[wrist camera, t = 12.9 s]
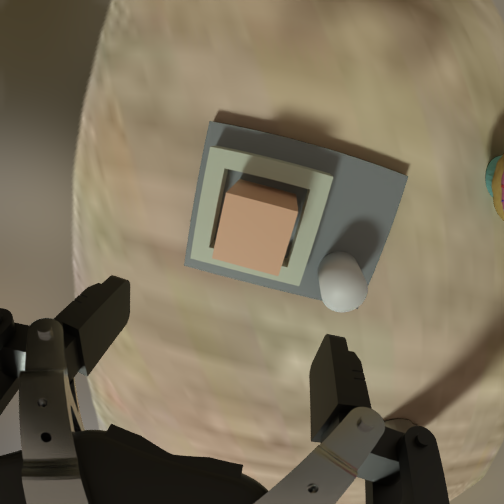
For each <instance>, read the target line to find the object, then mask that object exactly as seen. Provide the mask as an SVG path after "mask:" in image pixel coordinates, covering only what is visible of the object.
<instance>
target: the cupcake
mask: <svg viewBox="0 0 504 504" xmlns="http://www.w3.org/2000/svg"><path fill="white" fill-rule="evenodd" d="M486 186H487V189H488V192H489V193H490V195H491V196H492V197H493V202H494V207H495V209H496V211H497V213H498V215H499V216H500V217H501V219H502V220H503V221H504V154H503V155H501V156H498V157H495V158H494V159H492V160H491V162H490V163H489V165H488V167H487V170H486Z"/></svg>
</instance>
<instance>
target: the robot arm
mask: <svg viewBox="0 0 504 504" xmlns="http://www.w3.org/2000/svg"><path fill="white" fill-rule="evenodd" d="M129 315H130V282H129V281H128V280H126V279H122V278H119V277H116V276H113V275H112V276H110V277H109V278H108V279H107V280H106V281H105V282H103V283H102V284H100V283H97V284H95V285H92V286H90V287H88V288H87V289H85V290H84V291H83V292H82V293H81V294H80V295H79V296H78V297H77V298H76V299H75V300H74V301H72V302H71V303H70V304H69V305H68V306H67V307H66V308H65V309H64V310H63V311H61V312H60V313H59V314H58V315H57V316H56V317H55V318H54V319H51V318H43V319H39V320H36V321H35V322H33V323H32V324H31V325H30V326H28V325H23V324H19V323H14V320H13V316H12V314H11V312H10V311H8V310H6V309H2V308H0V415H1V414H2V412H3V410H4V409H5V408H6V406H7V405H8V403H9V402H10V401H11V399H12V398H13V396H14V395H15V394H16V392H17V391H18V389H19V418H20V419H19V420H20V435H21V446H22V450H20V451H17V452H13V453H9V454H6V455H2V456H0V504H335V503H336V502H337V501H338V499H339V498H340V497H341V496H342V495H343V493H344V492H345V491H346V490H347V488H348V487H349V486H350V485H351V483H352V482H353V481H354V479H355V478H356V477H359V478H362V479H365V490H366V504H449V498H448V493H447V487H446V482H445V477H444V472H443V467H442V463H441V458H440V454H439V450H438V446H437V442H436V439H435V437H434V435H433V434H432V433H431V432H430V431H429V430H428V429H426V428H424V427H421V426H418V425H414V424H412V422H411V421H409V420H406V419H394V420H389V421H385V422H384V420H383V418H382V417H381V416H380V415H379V414H378V413H377V412H376V411H374V410H373V409H371V404H370V399H369V395H368V390H367V385H366V381H365V377H364V373H363V368H362V364H361V361H360V360H359V358H358V357H357V355H356V354H355V353H354V352H351V351H348V347H347V342H346V339H345V338H344V337H339V336H335V335H330V334H326V335H325V337H324V339H323V341H322V343H321V345H320V347H319V349H318V352H317V354H316V356H315V358H314V360H313V362H312V365H311V369H310V375H309V378H310V411H311V441H312V442H321V444H320V445H318V446H317V447H316V448H315V449H314V450H313V451H312V452H311V453H310V454H309V455H308V456H307V457H306V458H305V459H304V460H303V461H302V462H301V463H300V464H299V465H298V466H297V467H296V468H294V469H293V470H292V471H291V472H290V473H289V474H288V475H287V476H286V477H285V478H283V479H282V480H281V481H280V482H279V483H278V484H277V485H275V486H274V487H273V488H272V489H271V490H270V491H268V490H267V489H266V488H265V487H264V486H262V485H261V484H260V483H259V482H257V481H256V480H254V479H252V478H251V477H249V476H247V475H245V474H242V468H243V465H241V464H236V463H231V462H226V461H222V460H218V459H214V458H210V457H193V456H180V455H173V454H170V453H168V452H166V451H165V450H163V449H161V448H160V447H158V446H156V445H155V444H153V443H151V442H150V441H148V440H147V439H145V438H144V437H142V436H140V435H137V434H135V433H132V432H130V431H127V430H125V429H122V428H120V427H118V426H115V425H113V424H111V425H110V427H109V428H108V430H107V431H102V430H84V426H83V423H82V419H81V415H80V410H79V403H78V398H77V391H76V385H75V379H74V377H75V375H76V374H77V373H78V372H79V373H81V374H83V375H85V376H88V375H89V374H90V372H91V371H92V370H93V368H94V367H95V366H96V364H97V363H98V361H99V360H100V359H101V357H102V356H103V355H104V353H105V352H106V351H107V349H108V348H109V347H110V345H111V344H112V343H113V341H114V340H115V339H116V337H117V336H118V335H119V333H120V332H121V331H122V329H123V328H124V327H125V325H126V324H127V322H128V319H129Z"/></svg>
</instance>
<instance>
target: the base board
mask: <svg viewBox="0 0 504 504" xmlns="http://www.w3.org/2000/svg"><path fill="white" fill-rule="evenodd" d="M407 178H408V176H406V175H403V174H401V173H398V172H395V171H393V170H390V169H387V168H385V167H382V166H379V165H376V164H373V163H370V162H368V161H365V160H362V159H359V158H356V157H353V156H349V155H346V154H343V153H340V152H337V151H333V150H330V149H327V148H323V147H320V146H316V145H313V144H309V143H306V142H302V141H298V140H294V139H291V138H287V137H283V136H279V135H275V134H270V133H266V132H262V131H257V130H253V129H248V128H243V127H239V126H234V125H229V124H223V123H218V122H212V121H209V126H208V131H207V136H206V140H205V145H204V150H203V155H202V160H201V166H200V171H199V176H198V182H197V187H196V193H195V199H194V205H193V210H192V217H191V223H190V229H189V236H188V242H187V249H186V256H185V263H184V266H188V267H191V268H195V269H199V270H202V271H206V272H210V273H214V274H217V275H221V276H225V277H229V278H233V279H236V280H240V281H244V282H248V283H252V284H256V285H260V286H264V287H268V288H272V289H276V290H280V291H284V292H288V293H292V294H296V295H300V296H305V297H309V298H313V299H317V300H321V301H323V303H324V304H325V305H326V306H327V307H328V308H329V309H331V310H333V311H336V312H348V311H351V310H354V309H358V307H359V306H360V305H361V304H362V303H363V301H364V300H365V298H366V296H367V292H368V285H369V282H370V280H371V278H372V275H373V273H374V270H375V268H376V265H377V263H378V261H379V258H380V256H381V253H382V250H383V248H384V245H385V243H386V240H387V237H388V235H389V232H390V229H391V226H392V224H393V221H394V218H395V215H396V212H397V209H398V206H399V203H400V200H401V197H402V194H403V191H404V188H405V185H406V182H407ZM239 179H241V180H245V181H249V182H253V183H257V184H261V185H265V186H268V187H272V188H276V189H279V190H283V191H287V192H290V193H294V194H296V198H297V206H298V215H297V218H296V221H295V224H294V228H293V231H292V234H291V238H290V241H289V244H288V247H287V250H286V254H285V257H284V260H283V263H282V266H281V269H280V273H279V276H275V275H272V274H268V273H264V272H260V271H257V270H253V269H249V268H246V267H242V266H238V265H235V264H231V263H227V262H224V261H220V260H217V259H213V258H212V256H213V251H214V246H215V241H216V236H217V232H218V227H219V222H220V218H221V213H222V209H223V204H224V200H225V195H226V192H227V191H228V190H229V189H230V188H231V187H232V186H233V185H234V184H235V183H236V182H237V181H238V180H239Z"/></svg>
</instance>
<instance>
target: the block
mask: <svg viewBox="0 0 504 504" xmlns="http://www.w3.org/2000/svg"><path fill="white" fill-rule="evenodd" d="M297 215H298V206H297V198H296V194H294V193H290V192H287V191H283V190H279V189H276V188H272V187H268V186H265V185H261V184H257V183H253V182H249V181H245V180H241V179H239V180H238V181H237V182H236V183H235V184H234V185H233V186H232V187H231V188H230V189H229V190H228V191H227V192H226V195H225V200H224V204H223V209H222V213H221V218H220V222H219V227H218V232H217V236H216V241H215V246H214V251H213V256H212V258H213V259H217V260H220V261H224V262H227V263H231V264H235V265H238V266H242V267H246V268H249V269H253V270H257V271H260V272H264V273H268V274H272V275H275V276H279V273H280V269H281V266H282V263H283V260H284V257H285V254H286V250H287V247H288V244H289V241H290V238H291V234H292V231H293V228H294V224H295V221H296V218H297Z"/></svg>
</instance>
